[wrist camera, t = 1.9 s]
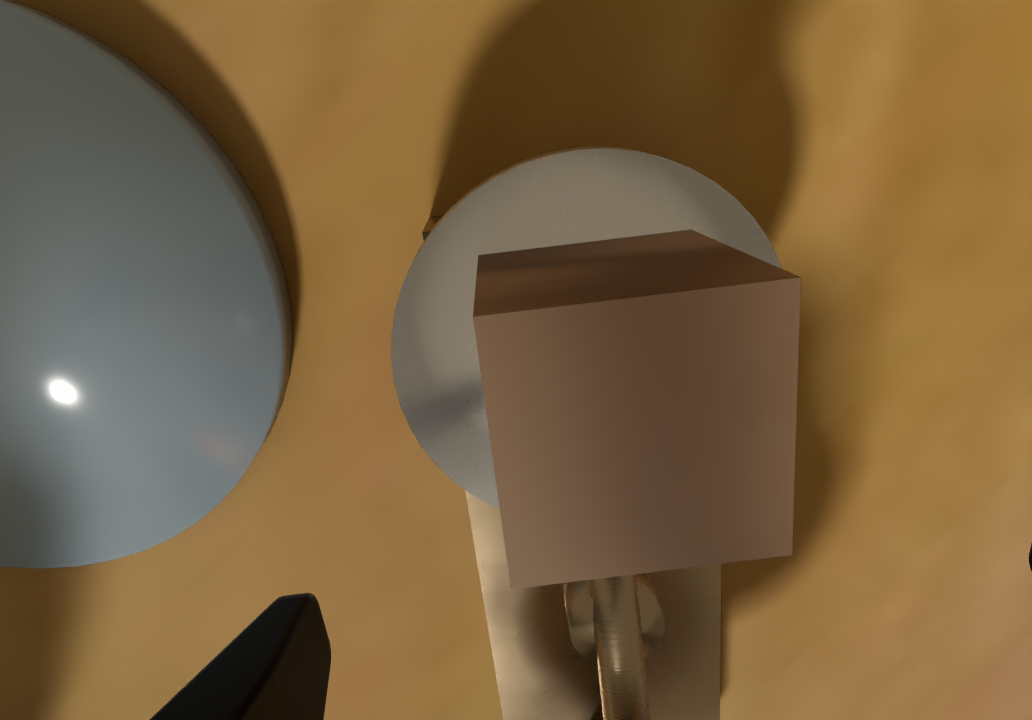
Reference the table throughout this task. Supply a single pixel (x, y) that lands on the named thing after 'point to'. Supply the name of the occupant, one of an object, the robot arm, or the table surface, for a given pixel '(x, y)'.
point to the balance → (468, 456)
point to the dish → (122, 305)
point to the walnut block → (638, 405)
